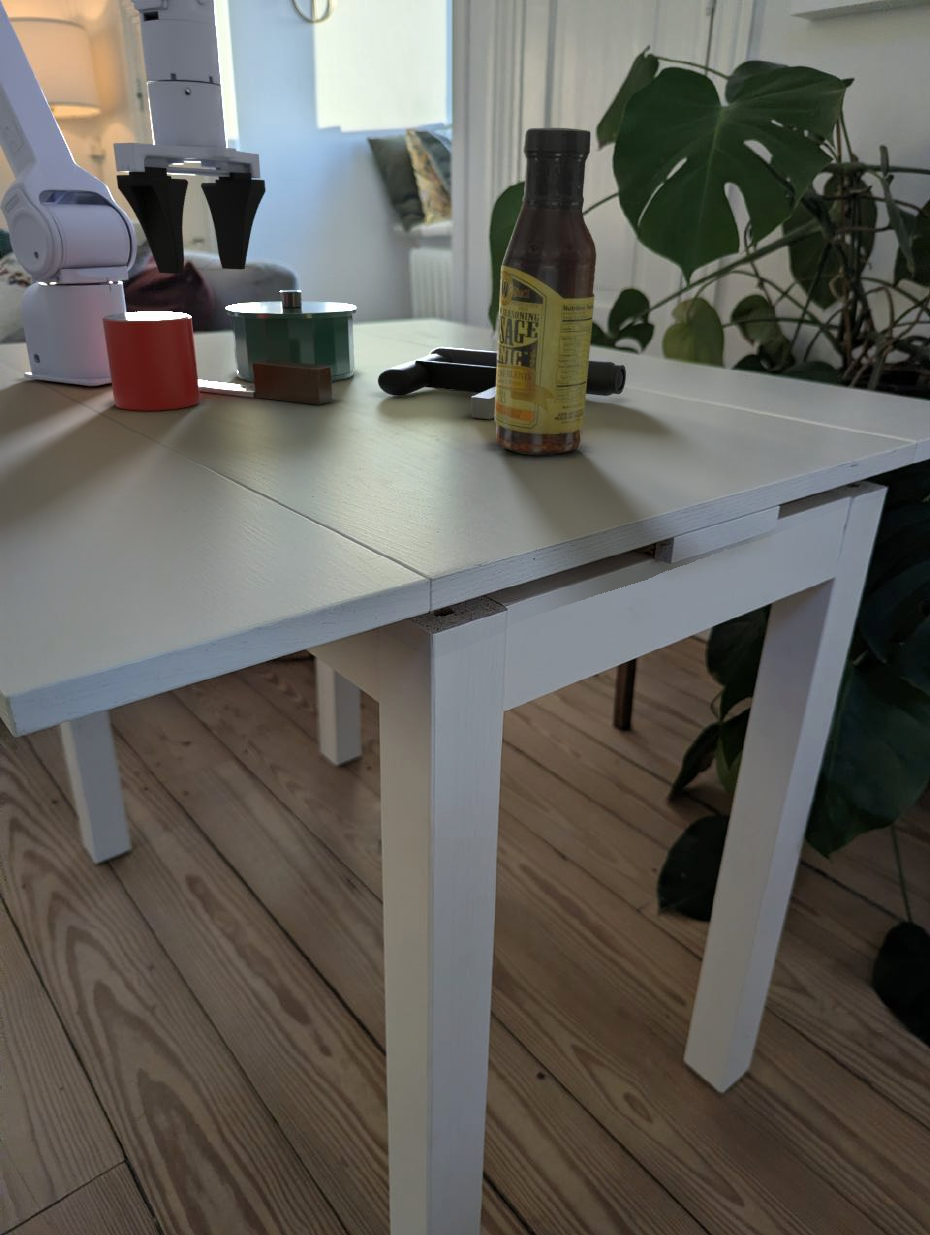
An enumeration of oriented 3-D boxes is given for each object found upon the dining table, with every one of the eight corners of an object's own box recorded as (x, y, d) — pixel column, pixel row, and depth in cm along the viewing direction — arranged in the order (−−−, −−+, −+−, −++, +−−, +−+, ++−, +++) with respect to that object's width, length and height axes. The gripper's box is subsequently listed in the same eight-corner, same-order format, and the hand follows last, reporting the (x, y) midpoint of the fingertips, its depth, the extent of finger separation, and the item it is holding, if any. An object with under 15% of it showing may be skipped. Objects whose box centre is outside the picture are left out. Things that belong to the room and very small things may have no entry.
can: (96, 405, 76) (82, 317, 73) (157, 392, 82) (147, 310, 79) (158, 413, 73) (147, 322, 71) (217, 400, 79) (209, 314, 76)
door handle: (557, 396, 69) (633, 357, 81) (344, 373, 78) (441, 341, 90) (556, 438, 70) (630, 394, 83) (348, 411, 79) (443, 375, 92)
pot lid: (199, 320, 87) (196, 292, 86) (281, 310, 98) (279, 284, 96) (305, 328, 82) (304, 298, 81) (380, 316, 92) (379, 289, 91)
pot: (212, 377, 90) (206, 314, 87) (285, 362, 99) (281, 304, 97) (308, 388, 85) (304, 321, 82) (375, 371, 94) (373, 310, 92)
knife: (176, 388, 84) (172, 355, 83) (194, 384, 86) (190, 352, 85) (318, 405, 77) (316, 369, 76) (334, 401, 79) (332, 365, 78)
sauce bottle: (480, 441, 66) (486, 130, 58) (558, 435, 68) (574, 134, 60) (517, 462, 60) (528, 122, 52) (600, 455, 62) (624, 127, 54)
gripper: (154, 71, 64) (177, 277, 69) (283, 94, 75) (294, 268, 81) (83, 76, 67) (110, 273, 72) (217, 97, 78) (232, 266, 84)
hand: (203, 271), depth 77 cm, fingers open, 7 cm apart
